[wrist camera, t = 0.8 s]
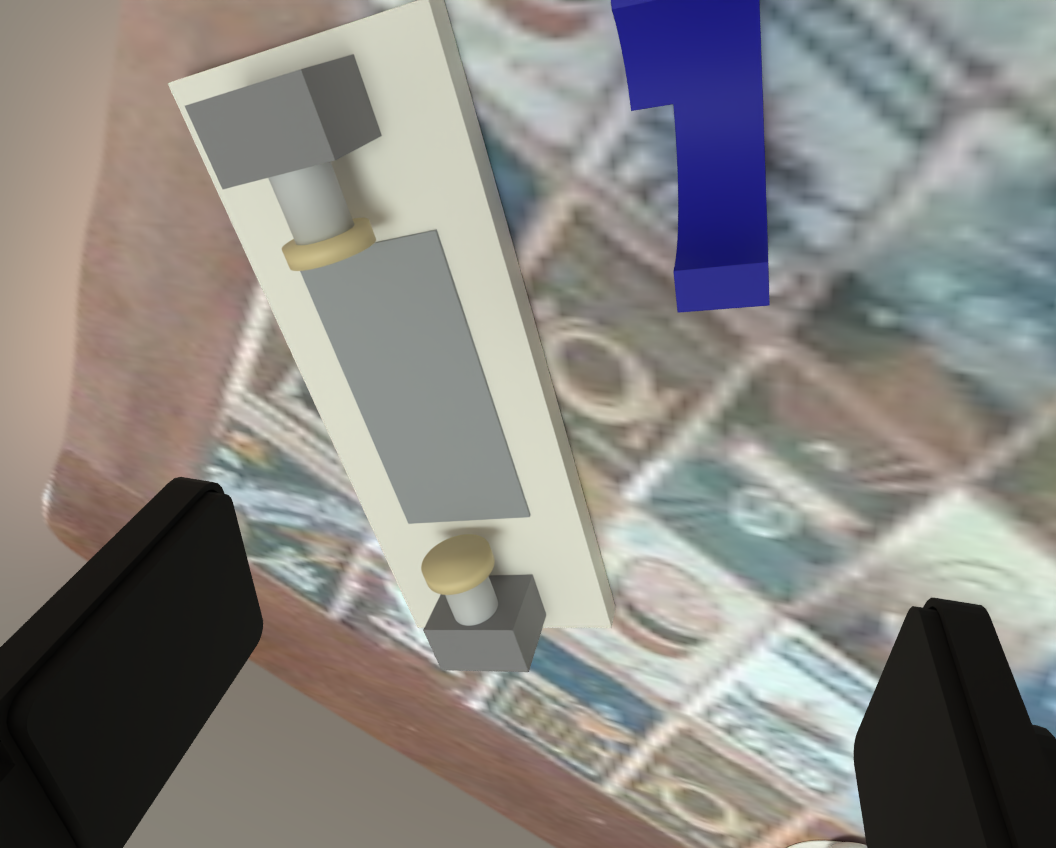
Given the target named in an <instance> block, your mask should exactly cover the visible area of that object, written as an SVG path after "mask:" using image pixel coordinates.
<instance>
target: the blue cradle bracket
mask: <svg viewBox="0 0 1056 848" xmlns="http://www.w3.org/2000/svg"><path fill="white" fill-rule="evenodd" d="M611 6H612V12H613V15H614V19H615V22H616V26H617V31H618V35H619V39H620V44H621V48H622V54H623V59H624V64H625V70H626V76H627V83H628V89H629V97H630V105H631V111H634V110H640V109H646V108H652V107H658V106H664V105H670V104H673V105H674V117H675V130H676V146H677V166H678V240H677V253H676V261H675V267H674V280H675V290H676V300H677V310H678V312H690V311H703V310H716V309H729V308H742V307H755V306H768V305H769V268H768V233H767V204H766V175H765V146H764V117H763V89H762V60H761V31H760V2H759V0H611Z"/></svg>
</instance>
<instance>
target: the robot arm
mask: <svg viewBox="0 0 1056 848" xmlns="http://www.w3.org/2000/svg"><path fill="white" fill-rule="evenodd" d="M262 630H263V618H262V615H261V611H260V607H259V603H258V599H257V595H256V591H255V587H254V583H253V579H252V575H251V572H250V568H249V564H248V560H247V556H246V552H245V548H244V544H243V540H242V536H241V532H240V528H239V525H238V521H237V517H236V513H235V509H234V505H233V502H232V499H231V497H230V496H229V495H226V494H224V491H223V489H222V487H221V486H220V485H219V484H218V483H214V482H209V481H203V480H197V479H190V478H184V477H178V478H174V479H173V480H172V481H170V482H169V483H168V484H167V485H166V486H165V487H164V488H163V489H162V490H161V491H160V492H159V493H158V494H157V495H156V496H155V497H154V498H153V499H152V500H150V501H149V502H148V503H147V504H146V505H145V506H144V507H143V508H142V509H141V510H140V511H139V512H138V513H137V514H136V515H135V516H134V517H133V518H132V519H131V520H130V521H129V522H128V523H127V524H126V525H125V526H124V527H123V528H122V529H121V530H120V531H119V532H118V533H117V534H116V535H115V536H114V537H113V538H112V539H111V540H110V541H109V542H108V543H107V544H106V545H104V546H103V547H102V548H101V549H100V550H99V551H98V552H97V553H96V554H95V555H94V556H93V557H92V558H91V559H90V560H89V561H88V562H87V563H86V564H85V565H84V566H83V567H82V568H81V569H80V570H79V571H78V572H77V573H76V574H75V575H74V576H73V577H72V578H71V579H70V580H69V581H68V582H67V583H66V584H65V585H64V586H63V587H62V588H61V589H60V590H58V591H57V592H56V594H55V595H53V597H51V598H50V599H49V600H48V601H47V602H46V603H45V604H44V605H43V606H42V607H41V608H40V609H39V610H38V611H37V612H36V613H35V614H34V615H33V616H32V617H31V618H30V619H29V620H28V621H27V622H26V623H25V624H24V625H23V626H22V627H21V628H20V629H19V630H18V631H17V632H16V633H15V634H14V635H13V636H12V637H11V638H9V639H8V640H7V641H6V643H4V644H3V645H2V646H1V647H0V848H123V847H124V845H125V844H126V842H127V840H128V839H129V838H130V836H131V835H132V833H133V832H134V830H135V829H136V827H137V826H138V824H139V822H140V821H141V819H142V818H143V816H144V815H145V813H146V812H147V810H148V809H149V807H150V806H151V804H152V803H153V801H154V800H155V798H156V797H157V795H158V794H159V792H160V791H161V789H162V788H163V786H164V785H165V783H166V782H167V780H168V779H169V777H170V776H171V774H172V773H173V771H174V770H175V768H176V767H177V765H178V764H179V762H180V761H181V759H182V758H183V756H184V755H185V753H186V751H187V750H188V749H189V747H190V746H191V744H192V743H193V741H194V739H195V738H196V736H197V735H198V733H199V732H200V730H201V729H202V727H203V726H204V724H205V723H206V721H207V720H208V718H209V717H210V715H211V714H212V712H213V711H214V709H215V708H216V706H217V705H218V703H219V702H220V700H221V699H222V697H223V696H224V694H225V693H226V691H227V690H228V688H229V687H230V685H231V684H232V682H233V681H234V679H235V678H236V676H237V675H238V673H239V672H240V670H241V669H242V667H243V666H244V664H245V662H246V661H247V660H248V658H249V656H250V655H251V653H252V652H253V650H254V649H255V647H256V646H257V644H258V642H259V640H260V637H261V634H262ZM854 766H855V773H856V779H857V786H858V792H859V798H860V805H861V811H862V818H863V824H864V831H865V837H866V843H867V848H1056V739H1055V737H1054V736H1053V735H1052V734H1051V733H1050V732H1049V731H1048V730H1047V729H1046V728H1043V727H1040V726H1037V725H1032V723H1031V721H1030V718H1029V716H1028V713H1027V710H1026V708H1025V705H1024V703H1023V700H1022V698H1021V695H1020V692H1019V690H1018V687H1017V685H1016V682H1015V680H1014V677H1013V675H1012V672H1011V669H1010V667H1009V664H1008V662H1007V659H1006V657H1005V654H1004V651H1003V649H1002V646H1001V644H1000V641H999V639H998V636H997V633H996V631H995V628H994V626H993V623H992V621H991V618H990V616H989V614H988V612H987V610H986V609H985V608H984V607H983V606H982V605H976V604H970V603H964V602H958V601H951V600H945V599H939V598H930V599H929V600H928V601H927V602H926V604H925V605H924V607H923V608H921V607H914V606H912V607H911V608H910V609H909V611H908V613H907V615H906V617H905V620H904V622H903V625H902V627H901V629H900V632H899V634H898V637H897V639H896V641H895V644H894V646H893V648H892V651H891V653H890V656H889V658H888V660H887V663H886V665H885V667H884V670H883V672H882V675H881V677H880V679H879V682H878V684H877V687H876V689H875V691H874V694H873V696H872V698H871V701H870V703H869V706H868V708H867V710H866V713H865V715H864V718H863V720H862V722H861V725H860V727H859V729H858V732H857V735H856V738H855V743H854Z"/></svg>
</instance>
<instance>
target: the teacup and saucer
mask: <svg viewBox="0 0 1056 848" xmlns="http://www.w3.org/2000/svg"><path fill="white" fill-rule="evenodd" d="M787 848H867V845H864V844H860V843H854V842H839V841H829V840H814V841H806V842H801V843H797V844H794V845H791V846H789V847H787Z"/></svg>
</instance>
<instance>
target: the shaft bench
mask: <svg viewBox="0 0 1056 848" xmlns="http://www.w3.org/2000/svg"><path fill="white" fill-rule="evenodd" d="M168 85H169V87H170V89H171V92H172V94H173V96H174V98H175V100H176V102H177V105H178V107H179V109H180V111H181V113H182V116H183V118H184V120H185V122H186V124H187V126H188V129H189V131H190V133H191V135H192V137H193V139H194V142H195V144H196V146H197V148H198V150H199V153H200V155H201V157H202V159H203V161H204V163H205V166H206V168H207V170H208V172H209V174H210V176H211V179H212V181H213V183H214V185H215V187H216V189H217V192H218V194H219V196H220V198H221V200H222V203H223V205H224V207H225V209H226V211H227V213H228V216H229V218H230V220H231V222H232V224H233V226H234V229H235V231H236V233H237V235H238V237H239V240H240V242H241V244H242V246H243V248H244V250H245V253H246V255H247V257H248V259H249V261H250V263H251V266H252V268H253V270H254V272H255V274H256V277H257V279H258V281H259V283H260V285H261V287H262V290H263V292H264V294H265V296H266V298H267V300H268V303H269V305H270V307H271V309H272V311H273V314H274V316H275V318H276V320H277V322H278V324H279V327H280V329H281V331H282V333H283V335H284V337H285V340H286V342H287V344H288V346H289V348H290V351H291V353H292V355H293V357H294V359H295V361H296V364H297V366H298V368H299V370H300V372H301V374H302V377H303V379H304V381H305V383H306V385H307V388H308V390H309V392H310V394H311V396H312V398H313V401H314V403H315V405H316V407H317V409H318V411H319V414H320V416H321V418H322V420H323V422H324V425H325V427H326V429H327V431H328V433H329V435H330V438H331V440H332V442H333V444H334V446H335V448H336V451H337V453H338V455H339V457H340V459H341V462H342V464H343V466H344V468H345V470H346V472H347V475H348V477H349V479H350V481H351V483H352V485H353V488H354V490H355V492H356V494H357V496H358V499H359V501H360V503H361V505H362V507H363V509H364V512H365V514H366V516H367V518H368V520H369V522H370V525H371V527H372V529H373V531H374V533H375V536H376V538H377V540H378V542H379V544H380V546H381V549H382V551H383V553H384V555H385V557H386V559H387V562H388V564H389V566H390V568H391V570H392V573H393V575H394V577H395V579H396V581H397V583H398V586H399V588H400V590H401V592H402V594H403V596H404V599H405V601H406V603H407V605H408V607H409V610H410V612H411V614H412V616H413V618H414V620H415V623H416V625H417V627H418V628H424V633H425V635H426V637H427V639H428V641H429V644H430V646H431V648H432V650H433V652H434V655H435V657H436V659H437V661H438V663H439V666H440V668H441V670H459V671H503V672H529V669H530V666H531V663H532V659H533V656H534V653H535V650H536V647H537V644H538V640H539V637H540V634H541V631H542V628H611V627H612V623H613V618H614V613H615V609H616V607H615V604H614V600H613V597H612V593H611V589H610V586H609V582H608V579H607V575H606V572H605V568H604V565H603V561H602V558H601V554H600V551H599V547H598V543H597V540H596V536H595V533H594V529H593V526H592V522H591V519H590V515H589V512H588V508H587V505H586V501H585V497H584V494H583V490H582V487H581V483H580V480H579V476H578V473H577V469H576V466H575V462H574V459H573V455H572V451H571V448H570V444H569V441H568V437H567V434H566V430H565V427H564V423H563V420H562V416H561V413H560V409H559V405H558V402H557V398H556V395H555V391H554V388H553V384H552V381H551V377H550V374H549V370H548V367H547V363H546V359H545V356H544V352H543V349H542V345H541V342H540V338H539V335H538V331H537V328H536V324H535V321H534V317H533V313H532V310H531V306H530V303H529V299H528V296H527V292H526V289H525V285H524V282H523V278H522V275H521V271H520V267H519V264H518V260H517V257H516V253H515V250H514V246H513V243H512V239H511V236H510V232H509V229H508V225H507V221H506V218H505V214H504V211H503V207H502V204H501V200H500V197H499V193H498V190H497V186H496V183H495V179H494V175H493V172H492V168H491V165H490V161H489V158H488V154H487V151H486V147H485V144H484V140H483V137H482V133H481V129H480V126H479V122H478V119H477V115H476V112H475V108H474V105H473V101H472V98H471V94H470V91H469V87H468V83H467V80H466V76H465V73H464V69H463V66H462V62H461V59H460V55H459V52H458V48H457V45H456V41H455V37H454V34H453V30H452V27H451V23H450V20H449V16H448V13H447V9H446V6H445V2H444V0H417V1H414V2H411V3H408V4H405V5H402V6H399V7H396V8H393V9H390V10H387V11H384V12H381V13H378V14H375V15H372V16H369V17H366V18H363V19H360V20H357V21H354V22H351V23H348V24H345V25H342V26H339V27H336V28H333V29H330V30H327V31H324V32H321V33H318V34H315V35H312V36H309V37H306V38H303V39H300V40H297V41H294V42H291V43H288V44H285V45H282V46H279V47H276V48H273V49H270V50H267V51H264V52H260V53H257V54H254V55H251V56H248V57H245V58H242V59H239V60H236V61H233V62H230V63H227V64H224V65H221V66H218V67H215V68H212V69H209V70H206V71H203V72H200V73H197V74H194V75H191V76H188V77H185V78H182V79H179V80H176V81H173V82H170V83H168Z"/></svg>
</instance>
